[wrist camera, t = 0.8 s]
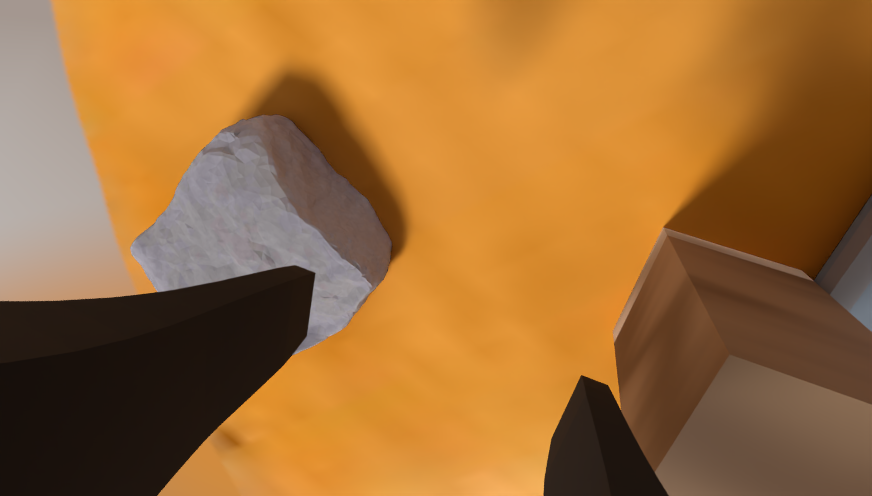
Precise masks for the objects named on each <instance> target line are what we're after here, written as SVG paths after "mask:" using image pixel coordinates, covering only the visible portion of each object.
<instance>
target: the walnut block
mask: <svg viewBox="0 0 872 496" xmlns="http://www.w3.org/2000/svg"><path fill="white" fill-rule="evenodd" d="M613 337H614V346H615V356H616V365H617V374H618V383H619V393H620V402H621V411H622V414H623V416H624V418H625V420H626V421H627V423H628V425H629V427H630V429H631V431H632V433H633V435H634V437H635V439H636V440H637V442H638V444H639V446H640V448H641V450H642V451H643V453H644V455H645V457H646V458H647V460H648V462H649V464H650V465H651V467H652V469H653V471H654V472H655V474H656V476H657V477H658V479H659V481H660V482H661V484H662V485H663V487H664V489H665V490H666V492H667V493H668V495H669V496H872V332H871V331H870V330H869V329H868V328H867V327H865V326H864V325H863V324H862V323H861V322H860V321H859V320H857V319H856V318H855V317H854V316H853V315H852V314H851V313H850V312H848V311H847V310H846V309H845V308H844V307H843V306H842V305H840V304H839V303H838V302H837V301H836V300H835V299H834V298H833V297H831V296H830V295H829V294H828V293H827V292H826V291H825V290H823V289H822V288H821V287H820V286H819V285H818V284H817V283H816V282H814V281H813V280H812V279H811V278H810V277H809V276H808V275H806V274H805V273H804V272H803V271H802V270H799V269H796V268H792V267H789V266H786V265H783V264H780V263H776V262H773V261H770V260H767V259H763V258H760V257H757V256H754V255H751V254H747V253H744V252H741V251H738V250H735V249H731V248H728V247H725V246H722V245H718V244H715V243H712V242H709V241H706V240H702V239H699V238H696V237H693V236H689V235H686V234H683V233H680V232H677V231H673V230H670V229H667V228H664V227H663V228H662V230H661V233H660V235H659V237H658V239H657V241H656V243H655V245H654V247H653V249H652V251H651V253H650V255H649V257H648V259H647V261H646V264H645V266H644V268H643V270H642V272H641V274H640V276H639V278H638V280H637V282H636V284H635V286H634V288H633V290H632V292H631V295H630V297H629V299H628V301H627V303H626V305H625V307H624V309H623V311H622V313H621V315H620V317H619V319H618V321H617V323H616V326H615V328H614V330H613Z"/></svg>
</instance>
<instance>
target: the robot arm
mask: <svg viewBox="0 0 872 496" xmlns="http://www.w3.org/2000/svg"><path fill="white" fill-rule="evenodd" d="M315 274H316V273H315V272H312V271H310V270H307V269H304V268H302V267H299V266H297V265H292V266H285V267H280V268H275V269H270V270H266V271H261V272H257V273H252V274H248V275H244V276H239V277H235V278H230V279H226V280H221V281H217V282H212V283H206V284H201V285H196V286H191V287H185V288H180V289H175V290H169V291H162V292H155V293H148V294H140V295H131V296H122V297H113V298H97V299H81V300H64V301H0V496H157V495H158V494H159V493H160V492H161V490H162V489H163V488H164V487H165V485H166V484H167V483H168V482H169V481H170V479H171V478H172V477H173V476H174V475H175V474H176V473H177V472H178V470H179V469H180V468H181V467H182V466H183V465H184V464H185V462H186V461H187V460H188V459H189V458H190V457H191V455H192V454H193V453H194V452H195V451H196V450H197V449H198V448H199V446H200V445H201V444H202V443H203V442H204V441H205V440H206V439H207V438H208V437H209V436H210V435H211V434H212V433H213V432H214V431H215V430H216V429H217V428H218V427H219V426H220V425H221V424H222V423H223V422H224V421H225V420H226V419H227V418H228V417H229V416H230V415H232V414H233V413H234V412H235V411H236V410H237V409H238V408H239V407H240V406H241V405H242V404H243V403H244V402H245V401H246V400H248V399H249V398H250V397H251V396H252V395H253V394H254V393H255V392H256V391H257V390H258V389H259V388H260V387H261V386H262V385H264V384H265V383H266V382H267V381H268V380H269V379H270V378H271V377H272V376H273V375H274V374H275V373H276V372H277V371H278V370H279V369H280V368H281V367H282V366H283V365H284V364H285V363H286V362H287V361H288V359H289V358H290V357H291V356H292V355H293V353H294V352H295V351H296V350H297V348H298V347H299V346H300V344H301V343H302V342H303V341H304V339H305V338H306V337H307V332H308V325H309V317H310V310H311V303H312V296H313V288H314V281H315ZM544 496H669V495H668V493H667V492H666V490H665V489H664V487H663V485H662V484H661V482H660V481H659V479H658V477H657V476H656V474H655V472H654V471H653V469H652V467H651V465H650V464H649V462H648V460H647V458H646V457H645V455H644V453H643V451H642V450H641V448H640V446H639V444H638V442H637V440H636V439H635V437H634V435H633V433H632V431H631V429H630V427H629V425H628V423H627V421H626V420H625V418H624V416H623V414H622V412H621V410H620V408H619V406H618V404H617V402H616V400H615V398H614V396H613V394H612V392H611V390H610V388H609V386H608V385H606V384H603V383H601V382H598V381H595V380H593V379H590V378H588V377H585V376H582V375H581V377H580V379H579V381H578V383H577V386H576V388H575V390H574V392H573V394H572V396H571V398H570V400H569V403H568V405H567V407H566V409H565V411H564V413H563V415H562V417H561V419H560V422H559V424H558V426H557V428H556V430H555V432H554V434H553V436H552V439H551V444H550V450H549V455H548V461H547V467H546V473H545V480H544Z"/></svg>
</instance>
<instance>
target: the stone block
mask: <svg viewBox="0 0 872 496" xmlns="http://www.w3.org/2000/svg"><path fill="white" fill-rule="evenodd" d="M130 249H131V253H132V256H133V257H134V258H135V259H136V260H137V261H138V262H139V264H140V265H141V266H142V268H143V269H144V271H145V273H146V275H147V277H148V278H149V280H150V281H151V282H152V284H153V286H154V287H155V289H156V290H157V291H158V292H162V291H169V290H175V289H180V288H185V287H191V286H196V285H201V284H206V283H212V282H217V281H221V280H226V279H230V278H235V277H239V276H244V275H248V274H252V273H257V272H261V271H266V270H270V269H275V268H280V267H285V266H292V265H297V266H299V267H302V268H304V269H307V270H310V271H312V272H315V273H316V274H315V281H314V288H313V296H312V303H311V310H310V317H309V325H308V332H307V337H306V338H305V339H304V341H303V342H302V343H301V344H300V346H299V347H298V348H297V350H296V351H295V352H294V353H293V355H294V354H297V353H299V352H301V351H303V350H305V349H308V348H310V347H312V346H314V345H317V344H318V343H320V342H322V341H323V340H325V339H326V338H327V337H329V336H331V335H333V334H335V333H337V332H338V331H340V330H342V329H343V328H345V327H346V326H347V325H348V323H349V322H350V320H351V319H352V317H353V316H354V314H355V313H356V312H357V311H358V310H359V309H360V308H361V306H362V305H363V304H364V303H365V301H366V299H367V297H368V295H369V294H370V293H371V292H372V291H373V290H374V289H375V288H376V287H377V286H378V285H379V284H380V283H381V282H382V281H383V279H384V277H385V275H386V273H387V271H388V266H389V263H390V259H391V255H390V252H391V249H392V242H391V240H390V238H389V235H388V233H387V232H386V231H385V229H384V228H383V226H382V224H381V222H380V221H379V219H378V217H377V215H376V213H375V210H374V209H373V207H372V206H371V204H370V203H369V201H368V199H367V198H365V197H364V196H363V195H362V194H361V193H360V192H358V191H357V190H356V189H355V188H354V187H353V186H352V185H351V184H349V182H348V180H347V179H346V178H344V177H342V176H341V175H339V174H337V173H336V172H335V171H334V169H333V168H332V167H331V165H330V164H329V163H328V162H327V160H326V159H325V157H324V155H323V154H322V153H321V152H320V150H319V149H318V148H317V147H316V146H315V145H314V144H313V143H312V142H311V141H310V140H309V139H308V138H307V137H306V136H305V135H304V134H303V133H302V132H301V131H300V130H299V129H298V128H297V127H296V126H295V124H294V123H293V122H292V121H291V120H289V119H288V118H286V117H284V116H281V115H272V116H269V115H261V116H257V117H254V118H251V119H248V120H244V119H242V120H240V121H239V122H237V123H236V124H234V125H232V126H229V127H227V128H225V129H222V130H221V131H220V133H219V134H218V135H217V136H215V137H214V139H213V140H212V141H211V142H210V143H209V144H208V145H207V146H206V147H204V148H203V149H202V150H201V151H200V153H199V154H198V155H197V156H196V158H195V159H194V160H193V162H192V163H191V165H190V167H189V168H188V170H187V171H186V172H185V174H184V175H183V177H182V179H181V181H180V183H179V184H178V186H177V188H176V192H175V195H174V197H173V199H172V201H171V203H170V204H169V206H168V207H167V209H166V210H165V211H164V212H163V213H162V214H161V215H160V216H159V217H158V218H157V220H156V222H155V223H154V224H153V225H152V226H150V227H149V228H148V229H147V230H145V231H144V232H143V233H142V234H140V235H139V236H138V237H137V238H136V239H135V240H134V242H133V243H132V245H131V247H130Z"/></svg>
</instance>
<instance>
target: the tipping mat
mask: <svg viewBox="0 0 872 496" xmlns="http://www.w3.org/2000/svg"><path fill="white" fill-rule="evenodd" d="M814 282H816V283H817V284H818V285H819V286H820V287H821V288H822V289H823V290H825V291H826V292H827V293H828V294H829V295H830V296H831V297H833V298H834V299H835V300H836V301H837V302H838V303H839V304H840V305H842V306H843V307H844V308H845V309H846V310H847V311H848V312H850V313H851V314H852V315H853V316H854V317H855V318H856V319H857V320H859V321H860V322H861V323H862V324H863V325H864V326H865V327H867V328H868V329H869V330H870V331H871V332H872V195H871V197H870V198H869V200H868V201H867V203H866V204H865V205H864V207H863V208H862V210H861V211H860V213H859V214H858V216H857V217H856V219H855V220H854V222H853V223H852V225H851V226H850V228H849V229H848V231H847V232H846V234H845V235H844V237H843V238H842V240H841V241H840V243H839V244H838V246H837V247H836V248H835V250H834V251H833V253H832V254H831V256H830V257H829V259H828V260H827V262H826V263H825V265H824V266H823V268H822V269H821V271H820V272H819V274H818V275H817V277H816V278H815V280H814Z"/></svg>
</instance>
